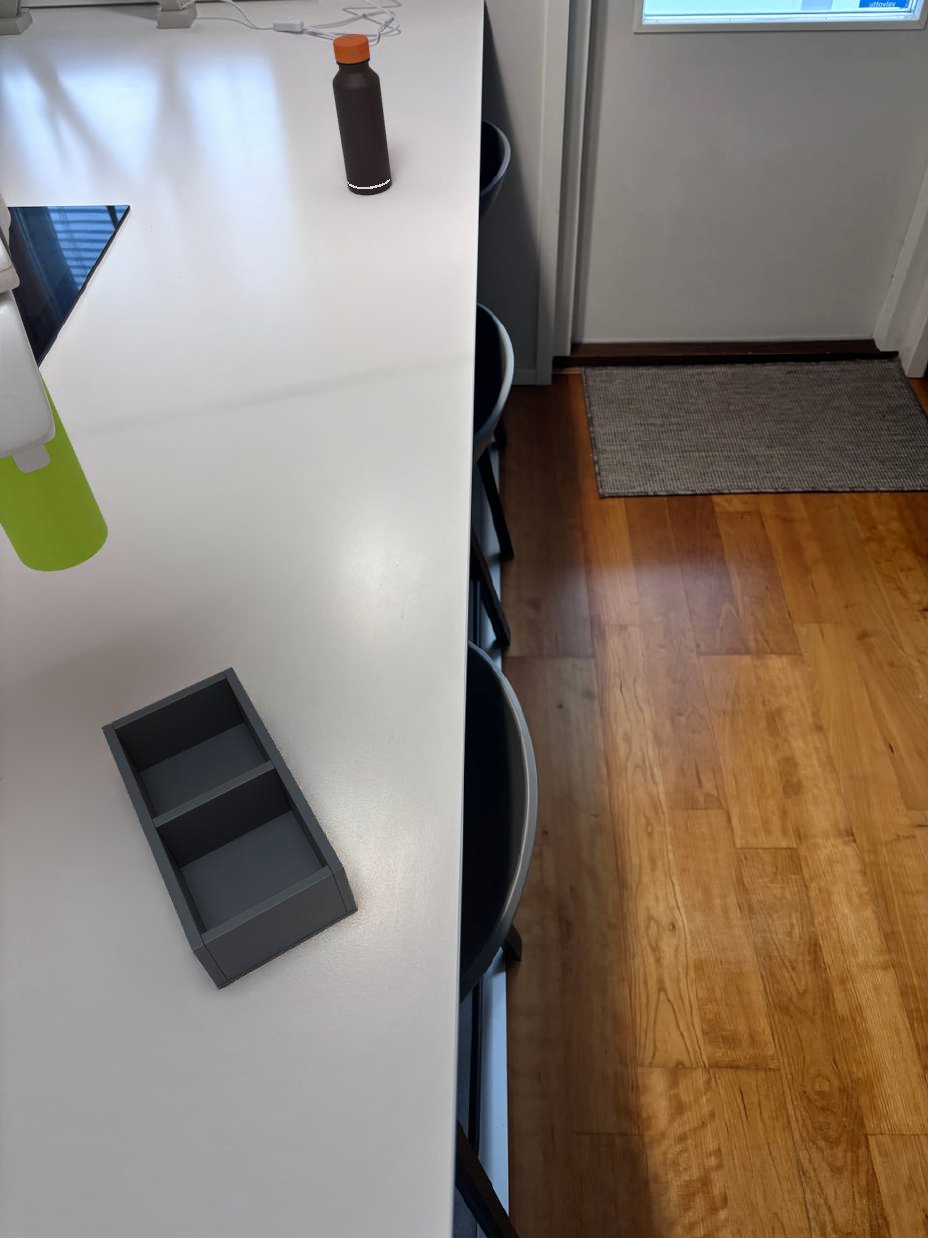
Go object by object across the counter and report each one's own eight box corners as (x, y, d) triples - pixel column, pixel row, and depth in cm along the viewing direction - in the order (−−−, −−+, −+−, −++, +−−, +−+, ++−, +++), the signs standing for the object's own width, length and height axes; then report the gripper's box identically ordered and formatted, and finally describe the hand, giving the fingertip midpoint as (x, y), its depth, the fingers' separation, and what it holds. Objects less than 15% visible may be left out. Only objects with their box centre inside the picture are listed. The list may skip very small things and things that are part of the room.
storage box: (218, 990, 64) (192, 951, 59) (129, 773, 76) (100, 727, 72) (358, 910, 67) (344, 868, 63) (250, 714, 80) (231, 666, 75)
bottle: (344, 180, 147) (322, 35, 132) (387, 172, 148) (370, 28, 133) (351, 198, 143) (329, 51, 128) (395, 191, 144) (378, 43, 129)
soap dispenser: (69, 589, 60) (-78, 295, 46) (-1, 552, 63) (-161, 265, 48) (137, 534, 64) (19, 245, 49) (67, 502, 66) (-64, 219, 52)
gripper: (-182, 153, 52) (-63, 369, 63) (-134, 313, 40) (4, 548, 50) (-65, 124, 54) (32, 338, 65) (16, 268, 42) (119, 504, 52)
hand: (20, 432), depth 57 cm, fingers closed on soap dispenser, 6 cm apart
